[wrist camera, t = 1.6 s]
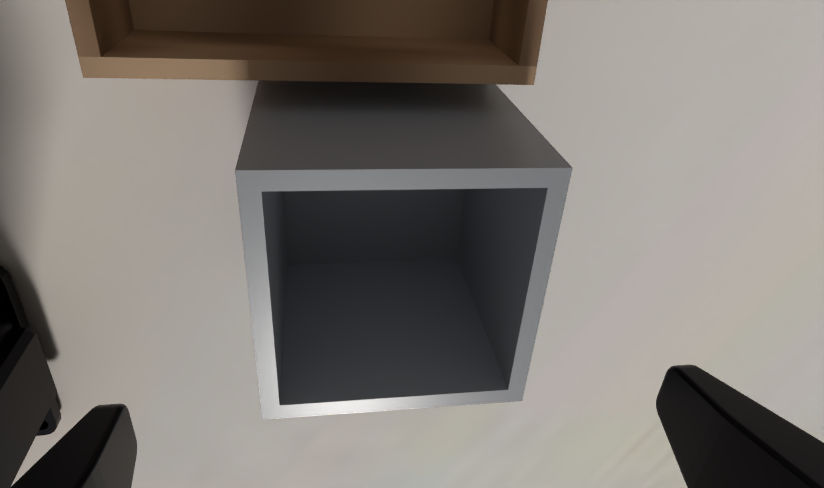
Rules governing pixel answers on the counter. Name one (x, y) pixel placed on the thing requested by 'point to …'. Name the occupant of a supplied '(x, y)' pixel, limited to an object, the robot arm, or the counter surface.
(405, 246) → the grey plastic crate
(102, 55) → the walnut crate
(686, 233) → the counter surface
